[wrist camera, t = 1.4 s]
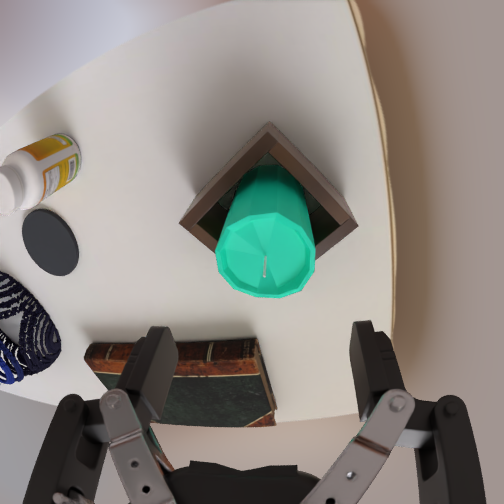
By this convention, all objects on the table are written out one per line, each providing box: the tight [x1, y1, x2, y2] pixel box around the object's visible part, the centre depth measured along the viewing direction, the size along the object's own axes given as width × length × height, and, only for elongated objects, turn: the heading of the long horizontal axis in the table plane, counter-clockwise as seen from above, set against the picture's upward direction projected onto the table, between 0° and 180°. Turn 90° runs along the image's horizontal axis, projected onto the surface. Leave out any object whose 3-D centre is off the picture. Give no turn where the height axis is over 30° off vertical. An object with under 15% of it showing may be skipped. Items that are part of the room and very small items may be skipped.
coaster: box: [22, 209, 79, 276], centre depth 32 cm, size 9×9×1 cm
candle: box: [215, 165, 315, 298], centre depth 22 cm, size 6×6×12 cm
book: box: [84, 339, 277, 427], centre depth 41 cm, size 17×4×25 cm
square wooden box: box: [179, 122, 358, 260], centre depth 25 cm, size 10×10×6 cm
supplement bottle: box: [0, 134, 81, 216], centre depth 22 cm, size 5×5×10 cm
